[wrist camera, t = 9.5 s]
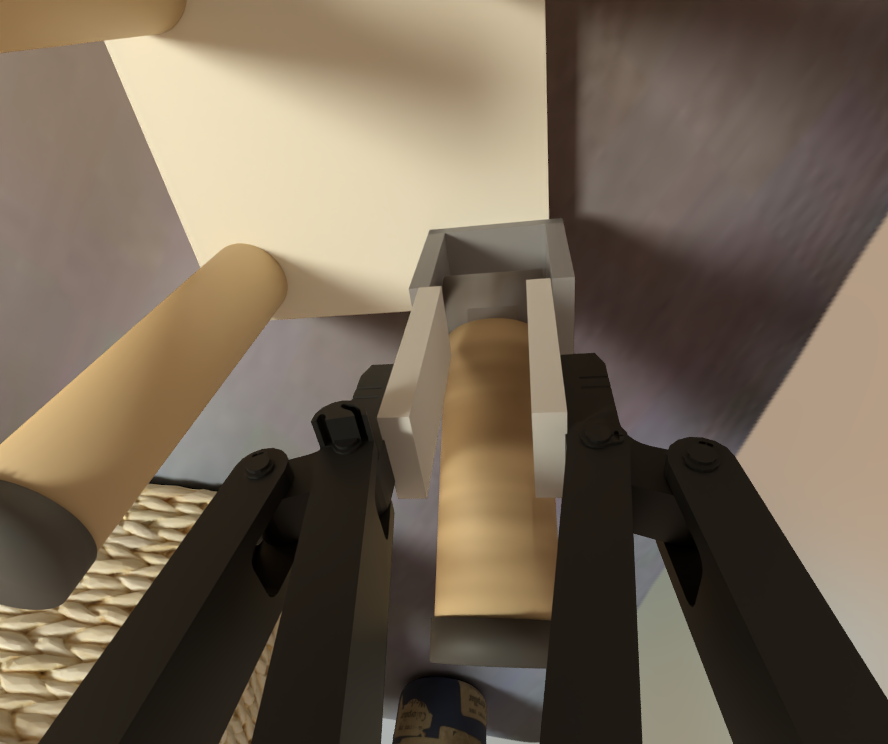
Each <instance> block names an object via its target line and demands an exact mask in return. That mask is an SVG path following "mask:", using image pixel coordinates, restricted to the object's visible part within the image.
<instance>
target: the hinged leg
mask: <svg viewBox="0 0 888 744" xmlns="http://www.w3.org/2000/svg"><path fill="white" fill-rule="evenodd" d="M531 279H543V273H542V269H532V270H519V271H506V272H493V273H479V274H466V275H453V276H445V277H444V279H443V286H442V294H443V301H444V308H445V314H446V321H447V328H448V335H449V341H450V348H451V355H452V356H451V362H450V367H449V373H448V379H447V385H446V391H445V397H444V402H443V414H442V440H441V465H440V490H439V516H438V541H437V566H436V591H435V617H434V618H431V637H430V661H429V662H433V663H441V664H454V665H469V666H487V667H510V668H547V658H548V647H549V636H550V625H551V614H552V603H553V592H554V581H555V570H556V559H557V548H558V535H557V518H556V502H555V498H536V495H535V474H534V453H533V433H532V411H531V387H530V363H529V339H528V315H527V291H526V280H531Z"/></svg>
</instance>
